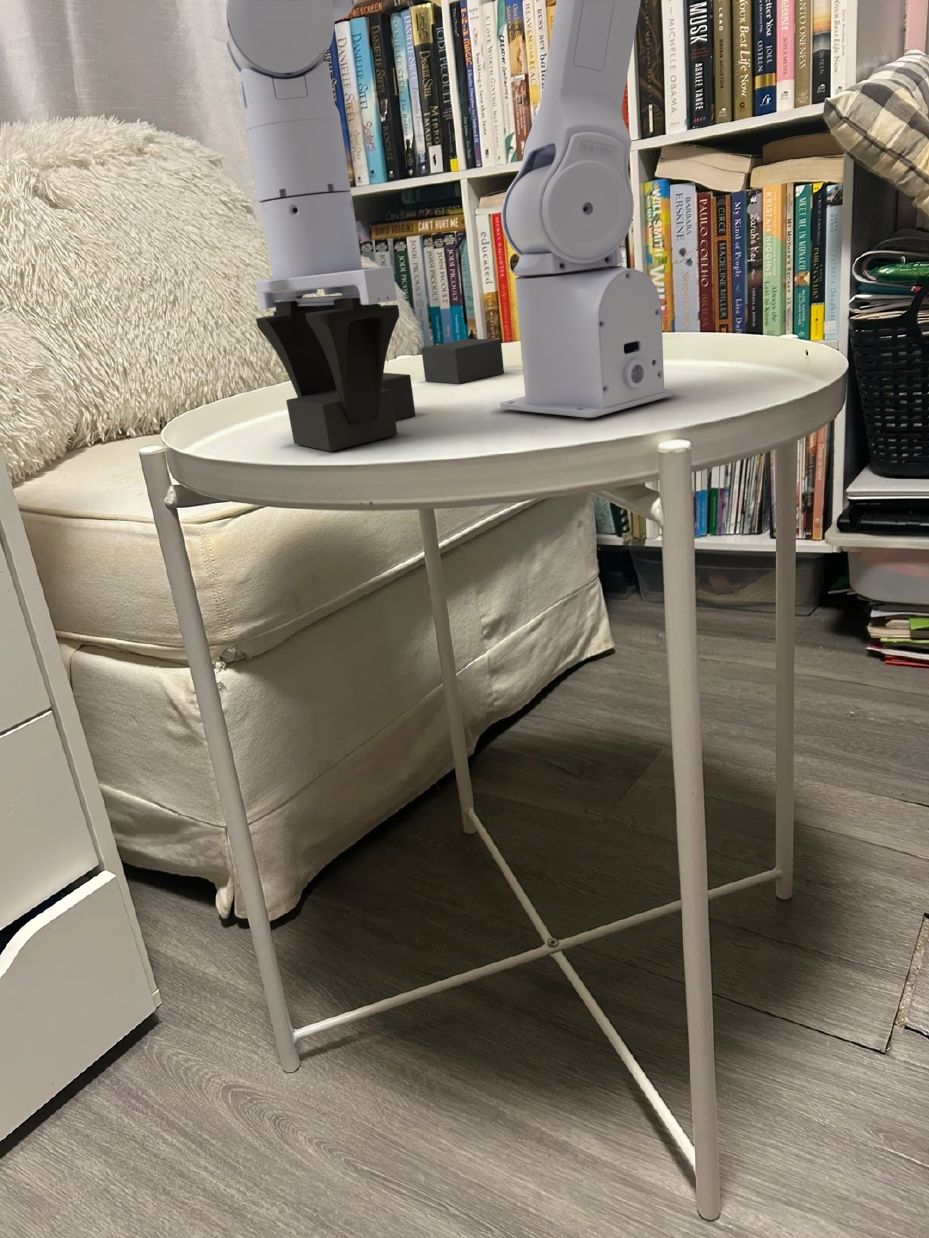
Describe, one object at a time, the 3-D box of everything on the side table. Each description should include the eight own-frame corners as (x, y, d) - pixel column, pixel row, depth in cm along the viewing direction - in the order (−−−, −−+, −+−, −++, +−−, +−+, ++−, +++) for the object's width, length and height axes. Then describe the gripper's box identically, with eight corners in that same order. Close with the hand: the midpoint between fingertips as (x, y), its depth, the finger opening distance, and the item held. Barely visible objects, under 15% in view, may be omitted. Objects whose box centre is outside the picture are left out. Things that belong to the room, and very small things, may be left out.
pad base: (504, 373, 85) (501, 339, 84) (459, 384, 82) (454, 348, 81) (469, 371, 89) (465, 338, 88) (425, 381, 86) (420, 347, 85)
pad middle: (398, 435, 63) (391, 389, 62) (330, 451, 60) (322, 405, 59) (358, 428, 67) (352, 385, 66) (293, 444, 64) (285, 399, 63)
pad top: (416, 415, 70) (410, 374, 68) (355, 430, 67) (349, 387, 66) (379, 410, 74) (373, 371, 72) (321, 424, 71) (314, 384, 70)
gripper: (199, 215, 61) (241, 422, 67) (304, 189, 50) (345, 440, 55) (294, 206, 65) (327, 403, 70) (411, 181, 54) (441, 416, 59)
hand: (341, 418), depth 63 cm, fingers closed on pad middle, 5 cm apart
